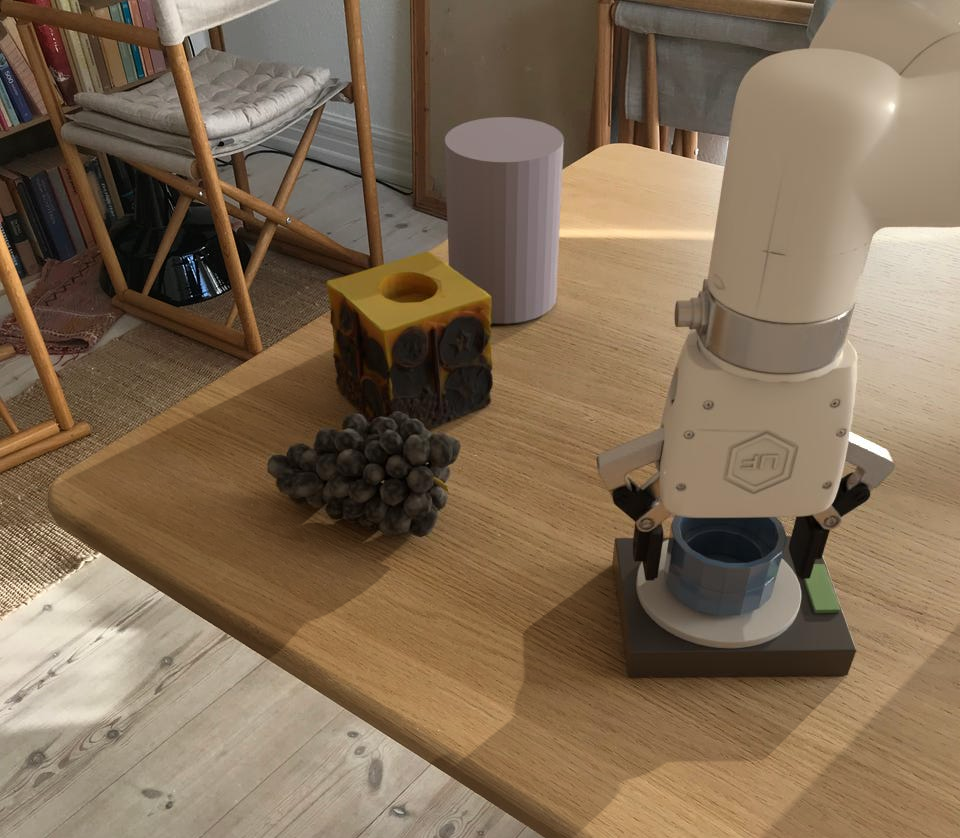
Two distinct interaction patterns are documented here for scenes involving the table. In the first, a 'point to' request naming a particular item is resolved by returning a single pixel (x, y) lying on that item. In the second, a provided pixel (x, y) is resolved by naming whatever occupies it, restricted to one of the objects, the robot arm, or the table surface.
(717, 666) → the scale
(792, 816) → the table surface
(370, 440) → the fruit
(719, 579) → the bowl
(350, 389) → the candle
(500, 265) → the container
